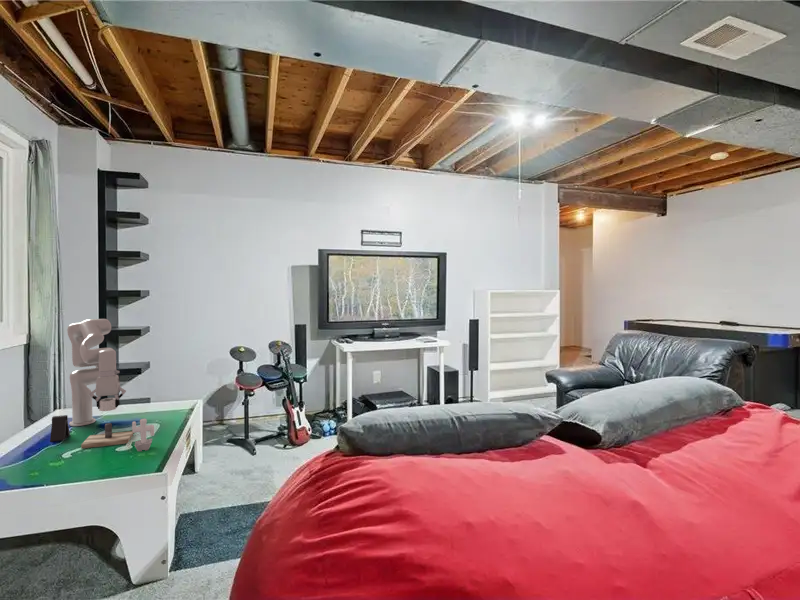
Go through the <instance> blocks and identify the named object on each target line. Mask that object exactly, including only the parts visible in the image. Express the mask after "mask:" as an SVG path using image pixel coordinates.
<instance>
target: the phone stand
mask: <svg viewBox="0 0 800 600" xmlns="http://www.w3.org/2000/svg"><path fill="white" fill-rule="evenodd" d="M69 427H70V425H69V420H68V414H66V415H53V416H52V417H51V428H50V436H49V437H50V438H49V442H60V441H65V440H66V439H67V438H68V437H69V436H71V433H70V428H69Z"/></svg>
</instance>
